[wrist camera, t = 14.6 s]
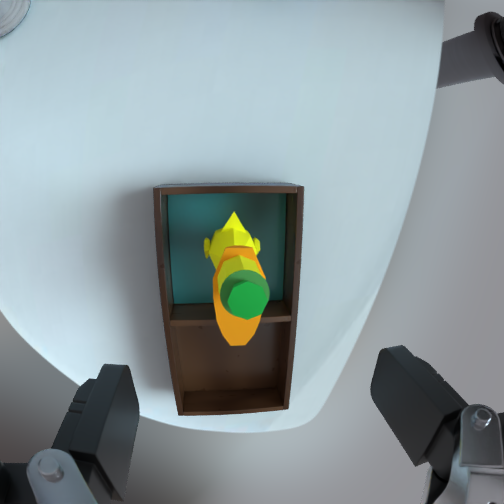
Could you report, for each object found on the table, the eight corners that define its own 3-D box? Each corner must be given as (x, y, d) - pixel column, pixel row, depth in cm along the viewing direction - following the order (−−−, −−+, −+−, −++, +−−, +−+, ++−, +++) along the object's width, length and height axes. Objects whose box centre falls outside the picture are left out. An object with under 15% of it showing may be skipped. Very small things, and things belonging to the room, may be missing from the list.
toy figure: (250, 288, 25) (282, 383, 14) (205, 288, 25) (205, 387, 13) (252, 203, 23) (295, 241, 12) (204, 203, 23) (199, 241, 11)
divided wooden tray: (291, 183, 24) (304, 186, 21) (280, 386, 29) (288, 409, 26) (161, 184, 23) (153, 187, 19) (180, 391, 28) (178, 415, 25)
